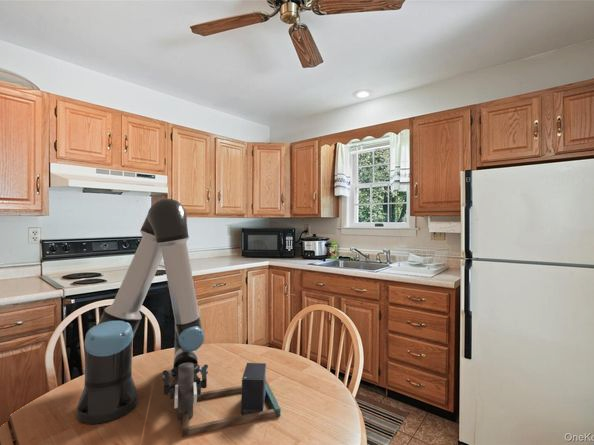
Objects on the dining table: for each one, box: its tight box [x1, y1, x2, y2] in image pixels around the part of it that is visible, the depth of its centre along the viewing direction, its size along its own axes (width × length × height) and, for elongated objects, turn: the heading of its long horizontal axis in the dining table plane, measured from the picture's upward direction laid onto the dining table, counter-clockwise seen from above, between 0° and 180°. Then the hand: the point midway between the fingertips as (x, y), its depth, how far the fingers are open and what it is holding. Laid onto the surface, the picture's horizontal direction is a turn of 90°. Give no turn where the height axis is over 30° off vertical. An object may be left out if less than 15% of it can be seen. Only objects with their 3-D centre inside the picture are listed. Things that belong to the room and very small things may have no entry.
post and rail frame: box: [177, 363, 281, 437], centre depth 88 cm, size 27×16×14 cm, turn 110°
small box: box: [240, 362, 267, 416], centre depth 90 cm, size 11×6×10 cm, turn 2°
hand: (185, 401), depth 79 cm, fingers closed on post and rail frame, 4 cm apart
